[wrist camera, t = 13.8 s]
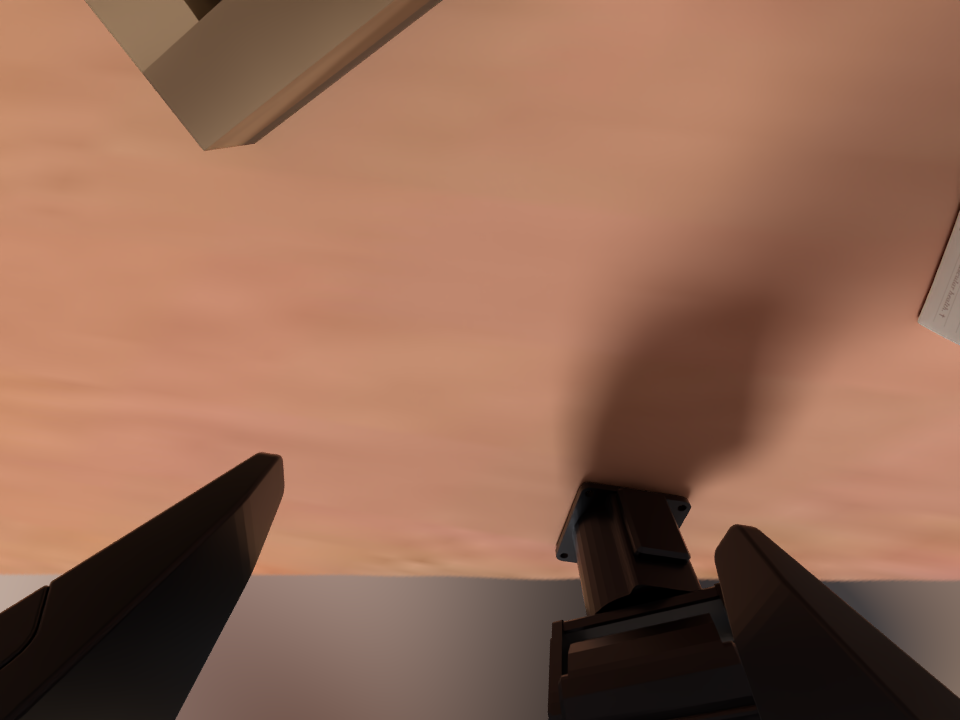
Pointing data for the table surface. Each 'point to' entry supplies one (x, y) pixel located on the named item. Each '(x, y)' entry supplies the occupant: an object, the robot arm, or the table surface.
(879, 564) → the table surface
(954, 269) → the supplement box
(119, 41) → the walnut pocket block
